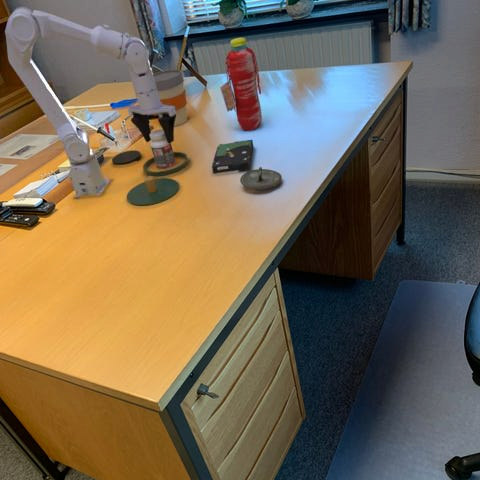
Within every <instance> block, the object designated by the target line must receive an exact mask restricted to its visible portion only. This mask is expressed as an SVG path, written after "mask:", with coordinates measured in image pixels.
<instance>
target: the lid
mask: <svg viewBox="0 0 480 480" xmlns="http://www.w3.org/2000/svg"><path fill="white" fill-rule="evenodd" d="M282 181H283V179H282V174H281V173H280V172H278V171H276V170H273V169H266V168H262V166H260V167H259V168H257V169H252V170H251V169H250V170H247V171H246V172H245V173H243V174H241V177H240V179H239V182H240V184H241V185H242V186H243V187H245V188H248V189H251V190H269V189H273V188H276V187H278V186H279V185H280V184H281V183H283V182H282Z"/></svg>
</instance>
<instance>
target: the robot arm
mask: <svg viewBox="0 0 480 480" xmlns="http://www.w3.org/2000/svg"><path fill="white" fill-rule="evenodd" d="M4 34H5V39H6V48H7V49H6V50H7V59H8V62H9V64H10V66H11V67H12V69H13V70H14V72H15V73H16V75H17V76H18V77H19V79H20V81H21V82H22V83H23V84H24V86H25V88H26V89H27V91H28V92H29V93H30V95H31V96H32V98H33V99H34V101H35V102H36V103H37V105H38V106H39V108H40V109H41V111H42V112H43V114H44V115H45V116H46V118H47V119H48V121H49V122H50V123H51V125H52V126H53V128H54V129H55V131H56V133H57V136H58V138H59V140H60V142H61V143H62V145H63V147H64V153H65V155H66V157H67V158H68V161H69V165H70V169H69V172H68V177H69V180H70V182H71V185H72V187H73V190H74V192H75V194H74V196H73V197H74V199H77V198H78V199H79V198H80V197H87V196H96V195H101V194H102V192H103V191H104V189H105V188H106V187H107V185H108V183H109V182H110V180H111V178H105V176H104V173H103V171H102V169H101V165H100V163H99V160H98V157H97V155H96V152H95V151H94V150H92V149H91V148H90V138H89V135H88V134H87V132H86V131H85V130H83V129H82V128H80V127H79V126H78V125H77V123H76V121H74V120H73V119H72V118H71V117H70V115H69V113H68V111H66V109H65V108H64V106H63V104H62V103H61V101H60V99H59V98H58V97H57V95H56V93H55V92H54V91H53V89H52V88H51V86H50V85H49V83H48V82H47V80H46V79H45V77H44V76H43V74H42V72H41V71H40V70H39V68H38V66H37V65H36V63H35V62H34V60H33V58H32V55H33V48H34V45H35V43H36V41H37V39H38V37H39V34H40V35H41V39H45V38H47V37H50V36H53V35H57V36H61V37H64V38H68V39H71V40H74V41H78V42H82V43H85V44H89V45H90V46H91V48H92V50H93V52H94V53H97V54H100V55H104V56H106V57H110V58H113V59H116V60H119V61H122V60H125V61H126V63H127V66H128V69H129V77H130V79H131V83H132V87H133V90H134V94H135V98H136V101H137V104H138V105H131V106H130V107H128V108H127V111H128V114H129V117H131V116H132V118H131V119H130V122H131V123H132V124H133V125H134V126H135V127H136V128H137V129H138V131H139V133H140V134H141V136H142V137H143V139H144V141H145V142H146V143H149V142H150V141H152V140H151V139H150V133H151V132H152V131H151V126H150V119H149V117H150V116H159V115H162V116H163V117H161V118H160V117H159V118H157V121H158V123H159V124H160V127H161V128H162V129H163V131H164V133H165V137H166V140H167V142H168V143H171V144H172V143H173V142H174V141H175V126H174V123H175V119H176V110H175V106H168V105H164V104H162V102H160V99H159V95H158V91H157V88H156V84H155V80H154V76H153V74H154V72H153V69H152V68H151V62H150V60H149V58H150V53H149V52H150V51H149V49H148V48H147V46H146V45H145V43H144V42H143V40H141V38H139V37H137V36H135V35H130V34H129V32H124V33H122V32H118V31H115V30H114V29H110V26H109V25H107V24H103V26H102V25H97V26H95V27H94V28H89V27H86V26H85V25H82V24H78V23H76V22H73V21H71V20H68V19H65V18H62V17H60V16H57V15H55V14H52V13H49V12H45V11H42V10H37V9H33V10H32V9H30V8H28V7H26V6H19V7H17V8H15V9H14V10H13V11H12V13H11V15H10V16H8V20H7V22H6V26H5V30H4Z"/></svg>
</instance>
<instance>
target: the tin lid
mask: <svg viewBox="0 0 480 480" xmlns="http://www.w3.org/2000/svg"><path fill="white" fill-rule="evenodd" d="M143 180H144V181H143V182H141V183H138V184H136V185H135V186H134V187H132V188H131V189H130V190H129V191H128V192H127V194H126V201H127V202H128V203H129V204H130V205H133V206H136V207H149V206H154V205H158V204H161V203H163V202H165V201H168V200H169V199H171V198H173V197H174V196H176V195H177V193H178V192H179V190H180V184H179V181H177V180H176V179H173V178H169V177H158V178H155V177H153V176H146V177H145V178H143Z"/></svg>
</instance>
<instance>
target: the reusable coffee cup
mask: <svg viewBox="0 0 480 480" xmlns="http://www.w3.org/2000/svg"><path fill="white" fill-rule="evenodd" d="M153 76H154V80H155V84H156V88H157V91H158V95H159V99H160V102H162V104H164V105H168V106H175V110H176V119H175V123H174V127H176V126H180V125H182V124H184V123H186V122H187V121H188V113H187V104H188V101H187V94H186V93H187V92H186V89H185V86H184V82H185V79H184V76H183V73H182V71H181V70H180V69H167V70H162V71H158V72H155V73H153ZM158 117H159V118H161V117H163V116H162V115H158Z"/></svg>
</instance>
